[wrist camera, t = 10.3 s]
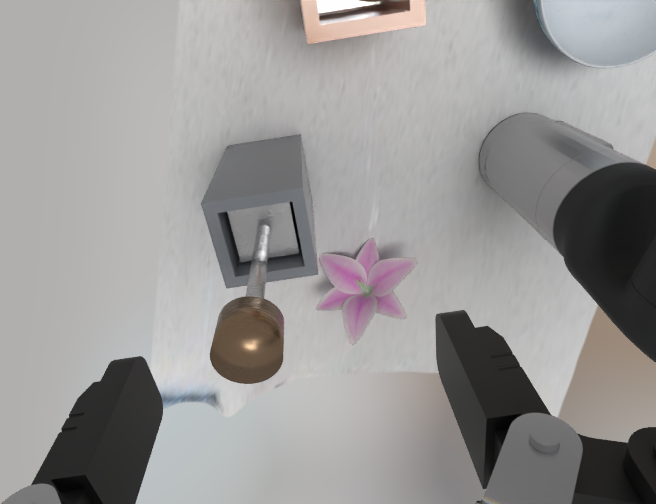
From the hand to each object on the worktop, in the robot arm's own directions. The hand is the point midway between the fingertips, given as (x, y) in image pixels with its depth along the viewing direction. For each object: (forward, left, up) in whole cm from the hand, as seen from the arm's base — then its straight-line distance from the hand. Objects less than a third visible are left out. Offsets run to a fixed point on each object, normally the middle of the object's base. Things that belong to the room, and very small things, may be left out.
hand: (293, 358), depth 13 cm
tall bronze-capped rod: (+4, +8, -26) cm, 28 cm away
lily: (-5, +22, -40) cm, 46 cm away
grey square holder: (+4, +8, -40) cm, 41 cm away
